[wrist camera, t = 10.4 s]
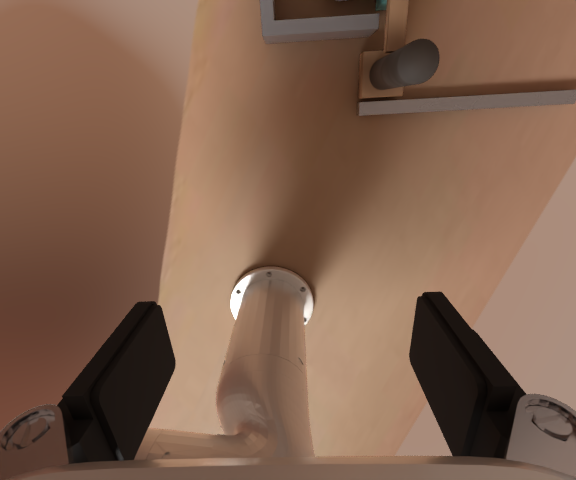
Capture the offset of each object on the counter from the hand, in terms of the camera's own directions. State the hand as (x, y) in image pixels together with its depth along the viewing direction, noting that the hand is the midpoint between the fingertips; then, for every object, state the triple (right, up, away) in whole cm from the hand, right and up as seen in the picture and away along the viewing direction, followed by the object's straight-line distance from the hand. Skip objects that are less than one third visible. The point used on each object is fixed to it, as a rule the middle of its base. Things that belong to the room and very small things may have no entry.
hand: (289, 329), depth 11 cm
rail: (+20, +19, +24) cm, 37 cm away
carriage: (+10, +27, +21) cm, 35 cm away
